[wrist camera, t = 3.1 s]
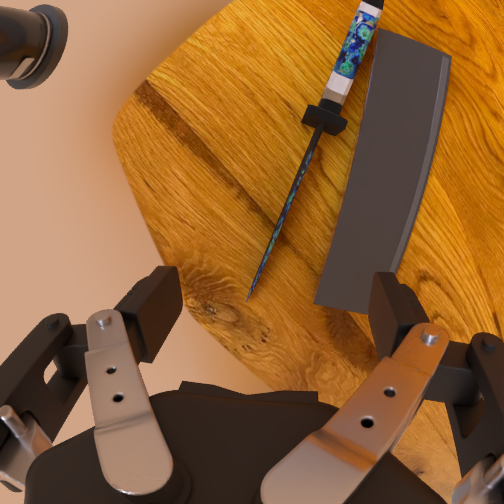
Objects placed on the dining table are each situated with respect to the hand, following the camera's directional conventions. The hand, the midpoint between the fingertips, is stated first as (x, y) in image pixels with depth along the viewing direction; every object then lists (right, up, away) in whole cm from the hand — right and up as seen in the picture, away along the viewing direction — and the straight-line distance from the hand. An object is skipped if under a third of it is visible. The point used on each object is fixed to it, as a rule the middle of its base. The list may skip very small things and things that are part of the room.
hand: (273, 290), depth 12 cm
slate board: (+11, +8, +13) cm, 19 cm away
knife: (+4, +10, +14) cm, 17 cm away
